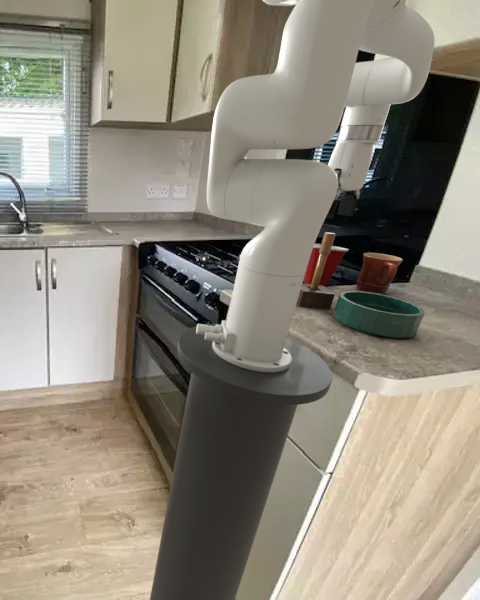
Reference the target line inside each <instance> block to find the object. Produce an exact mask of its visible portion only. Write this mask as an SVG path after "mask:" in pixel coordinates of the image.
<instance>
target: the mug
mask: <svg viewBox="0 0 480 600" xmlns="http://www.w3.org/2000/svg"><path fill="white" fill-rule="evenodd" d="M362 258H363V260H362V267H361V269H360V272H359V274H358V277H357V279H356V285H355V286H356V287H355V288H357V289H358V291H363V292H371V293H377V294H382V295H384V294H385V293H387V291H388V290H389V289H390V287H391V284H392V281H393V280H394V279H395V276H396V274H397V271H398V267H399V266H400V265H401V263H402V262H403V261H404V259H403V258H401V257H400V256H399V257H398V256H395V255H390V254H385V253H377V252H364V253H363V254H362Z"/></svg>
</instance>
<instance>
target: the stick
mask: <svg viewBox="0 0 480 600" xmlns="http://www.w3.org/2000/svg"><path fill="white" fill-rule="evenodd" d="M336 236H337V235H336V233H335V232H327V231H325V232H324V234H323V237H322V240H321V243H320V244H321V247H320V251H319V253H320V256H319V259H318V262H317V266H316V269H315V273H314V276H313V279H312V283H311V286H310V289H311V290H317V289H318V285H319V282H320V279H321V276H322V272H323V269H324V266H325V262H326V259H327V256H328V255H329V254H330V251H331V248H332V246H333V244H334V241H335V238H336Z"/></svg>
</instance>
